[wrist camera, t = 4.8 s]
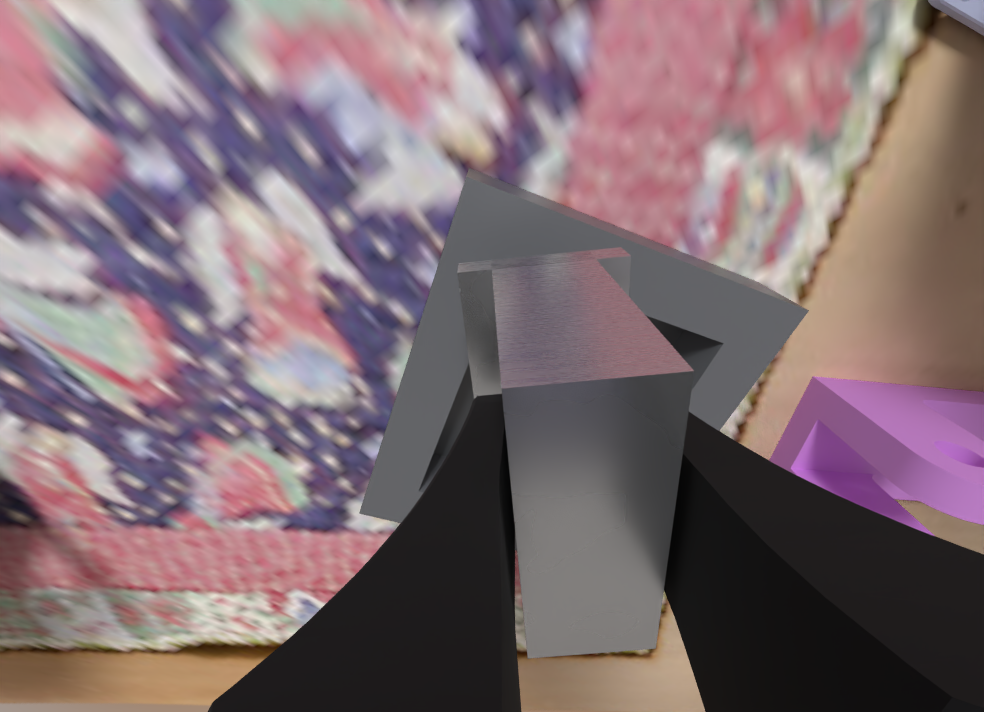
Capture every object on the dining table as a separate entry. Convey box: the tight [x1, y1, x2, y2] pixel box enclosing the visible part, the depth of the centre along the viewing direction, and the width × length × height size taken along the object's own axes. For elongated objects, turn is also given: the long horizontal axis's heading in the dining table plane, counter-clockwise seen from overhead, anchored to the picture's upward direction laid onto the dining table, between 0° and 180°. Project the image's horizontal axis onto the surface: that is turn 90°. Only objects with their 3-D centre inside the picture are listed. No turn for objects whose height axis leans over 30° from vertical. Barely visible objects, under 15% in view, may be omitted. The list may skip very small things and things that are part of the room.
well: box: [360, 168, 809, 550], centre depth 18 cm, size 12×14×3 cm
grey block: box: [457, 247, 694, 658], centre depth 10 cm, size 4×6×6 cm, turn 5°
